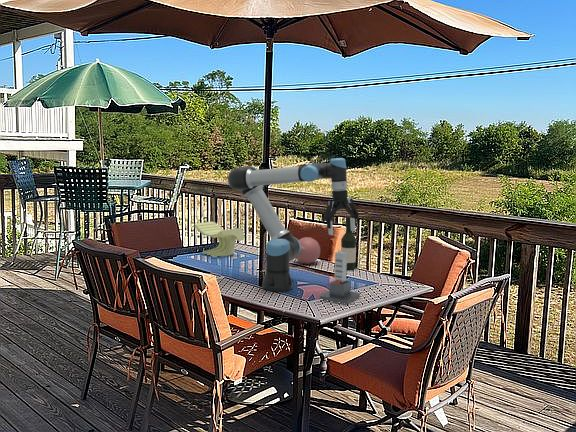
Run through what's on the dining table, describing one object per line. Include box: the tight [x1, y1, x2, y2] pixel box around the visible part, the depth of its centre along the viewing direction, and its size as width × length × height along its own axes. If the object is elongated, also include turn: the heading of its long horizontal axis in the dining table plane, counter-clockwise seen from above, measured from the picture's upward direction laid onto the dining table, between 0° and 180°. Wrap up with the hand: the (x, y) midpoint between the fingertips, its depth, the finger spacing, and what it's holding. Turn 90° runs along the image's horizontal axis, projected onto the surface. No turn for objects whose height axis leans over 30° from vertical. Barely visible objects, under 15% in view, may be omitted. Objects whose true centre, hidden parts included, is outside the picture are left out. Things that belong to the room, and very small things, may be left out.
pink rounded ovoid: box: [295, 236, 321, 265], centre depth 337 cm, size 15×20×15 cm
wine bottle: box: [340, 215, 357, 271], centre depth 327 cm, size 8×8×30 cm
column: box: [334, 250, 347, 284], centre depth 271 cm, size 4×4×20 cm
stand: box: [319, 279, 361, 305], centre depth 272 cm, size 14×14×9 cm
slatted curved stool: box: [194, 221, 245, 258], centre depth 361 cm, size 30×16×18 cm, turn 40°
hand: (342, 232), depth 288 cm, fingers open, 13 cm apart
